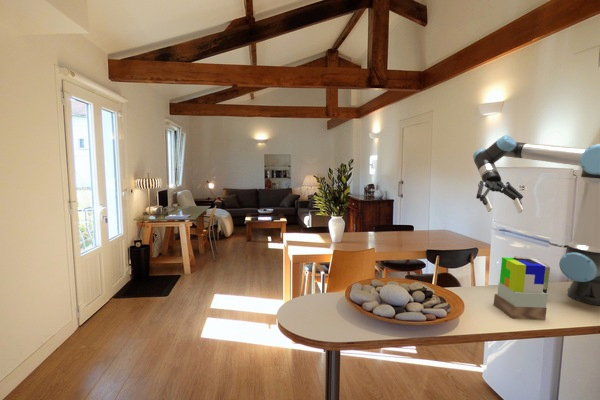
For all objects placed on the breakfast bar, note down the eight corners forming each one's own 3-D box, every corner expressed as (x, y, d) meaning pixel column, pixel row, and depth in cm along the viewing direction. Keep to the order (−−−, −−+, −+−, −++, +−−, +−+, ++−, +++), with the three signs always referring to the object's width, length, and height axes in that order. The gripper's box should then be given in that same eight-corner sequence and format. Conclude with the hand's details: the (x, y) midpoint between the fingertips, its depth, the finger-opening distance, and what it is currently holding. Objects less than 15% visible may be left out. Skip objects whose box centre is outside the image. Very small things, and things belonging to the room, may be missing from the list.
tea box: (546, 301, 141) (551, 266, 139) (519, 297, 144) (522, 263, 142) (535, 289, 155) (538, 258, 153) (509, 286, 158) (513, 255, 157)
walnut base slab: (524, 307, 134) (525, 295, 134) (545, 321, 123) (546, 307, 122) (493, 306, 135) (494, 293, 134) (511, 319, 123) (512, 306, 122)
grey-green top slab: (525, 296, 133) (526, 283, 133) (545, 307, 122) (547, 294, 122) (497, 294, 133) (498, 282, 133) (515, 306, 122) (516, 293, 122)
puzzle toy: (542, 293, 122) (545, 266, 121) (513, 291, 123) (516, 264, 122) (526, 283, 132) (529, 258, 131) (499, 282, 133) (502, 257, 132)
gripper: (511, 181, 166) (529, 216, 152) (460, 179, 166) (473, 214, 152) (520, 171, 160) (538, 206, 147) (467, 168, 160) (481, 204, 147)
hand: (505, 210), depth 149 cm, fingers open, 13 cm apart
